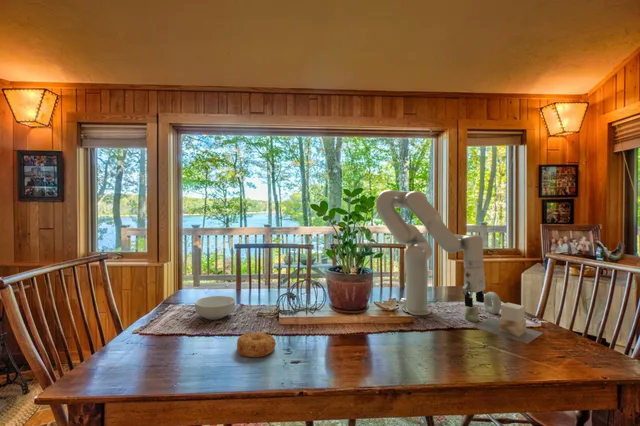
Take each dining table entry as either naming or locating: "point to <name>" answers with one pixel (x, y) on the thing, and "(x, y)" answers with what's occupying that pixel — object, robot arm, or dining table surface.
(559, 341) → the dining table surface
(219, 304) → the cereal bowl
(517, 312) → the top block
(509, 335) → the tile
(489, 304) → the donut
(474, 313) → the cylinder
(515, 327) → the base block
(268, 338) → the bagel
